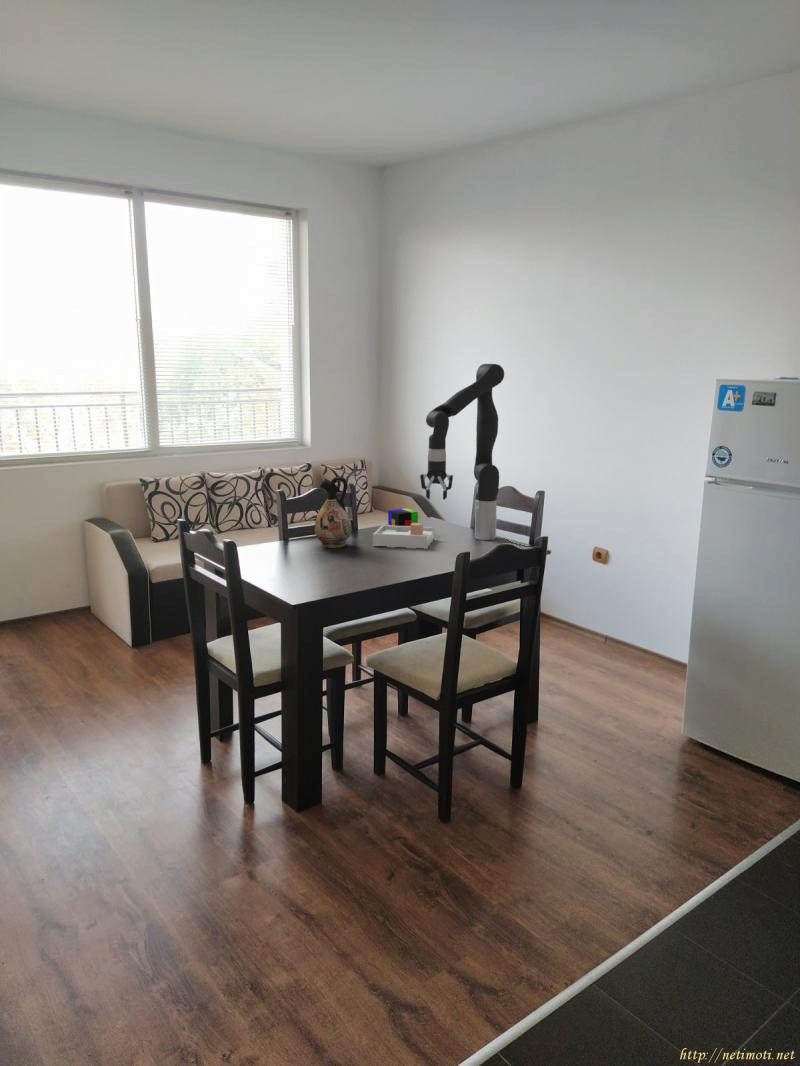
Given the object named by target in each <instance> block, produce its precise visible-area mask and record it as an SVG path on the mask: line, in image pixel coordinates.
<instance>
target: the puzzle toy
mask: <svg viewBox="0 0 800 1066" xmlns="http://www.w3.org/2000/svg"><path fill="white" fill-rule="evenodd" d="M387 511H388V512H387V515H388V516H387V517H388V519H387V521H388V522H387V525H391V526H410V525H411V524H412V523H419V512H418V510H417V511H416V510H413V509H411V508H398V509H388V510H387Z"/></svg>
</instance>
